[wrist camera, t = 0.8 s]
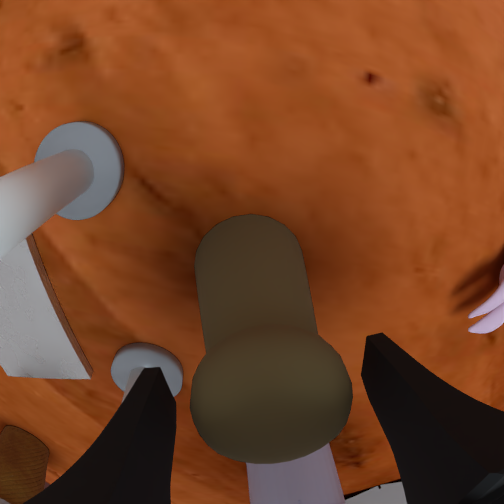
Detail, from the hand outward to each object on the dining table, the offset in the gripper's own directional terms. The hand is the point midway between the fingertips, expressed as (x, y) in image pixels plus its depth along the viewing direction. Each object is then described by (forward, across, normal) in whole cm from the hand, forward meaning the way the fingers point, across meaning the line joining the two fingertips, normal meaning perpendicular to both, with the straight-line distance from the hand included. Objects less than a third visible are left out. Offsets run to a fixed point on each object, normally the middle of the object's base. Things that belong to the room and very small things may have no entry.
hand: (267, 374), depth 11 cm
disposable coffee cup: (+8, +29, +20) cm, 36 cm away
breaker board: (+8, +17, 0) cm, 19 cm away
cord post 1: (+8, +8, -7) cm, 13 cm away
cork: (+8, 0, 0) cm, 8 cm away
